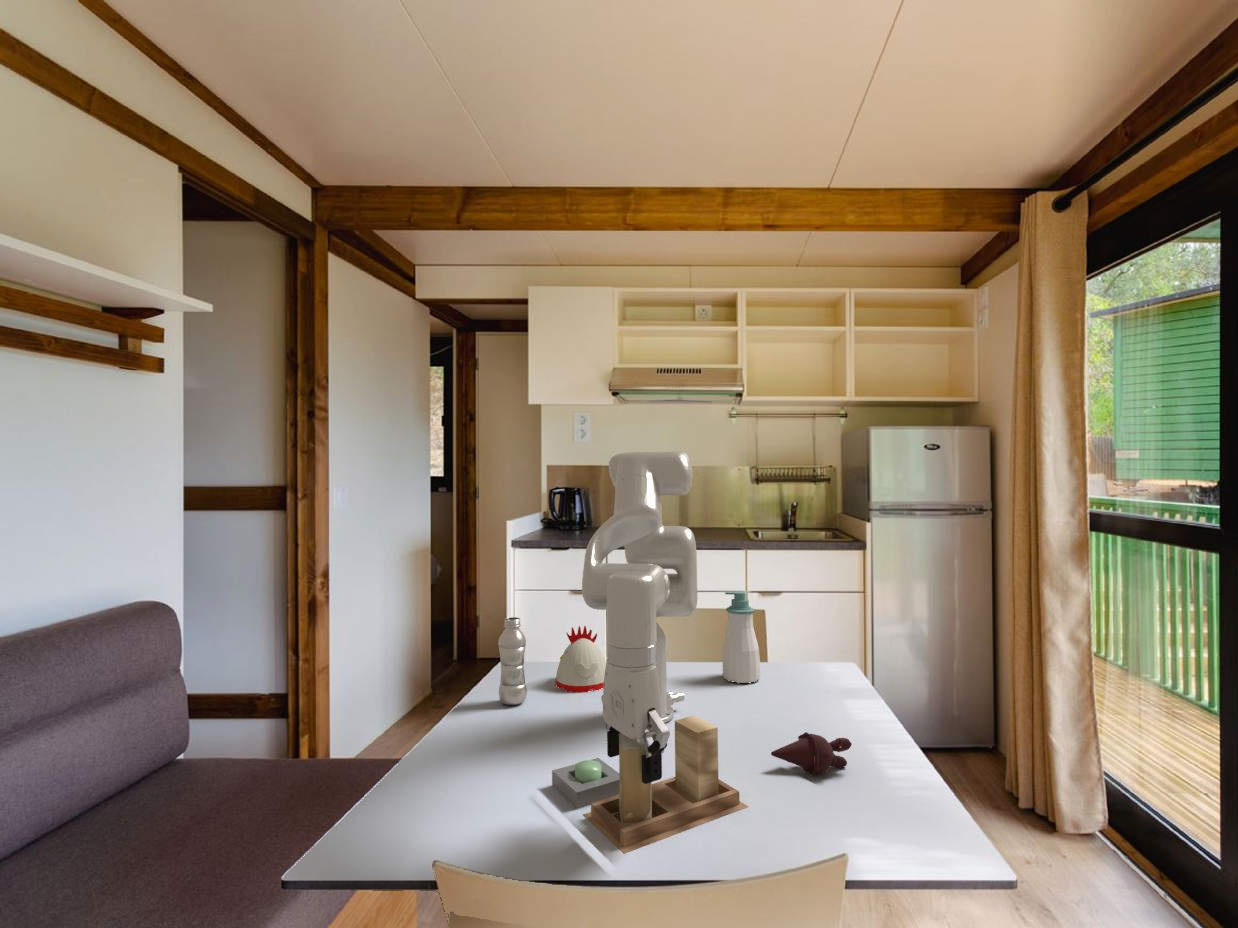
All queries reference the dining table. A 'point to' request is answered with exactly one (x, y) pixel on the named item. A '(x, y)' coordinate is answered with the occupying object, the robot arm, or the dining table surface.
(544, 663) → the dining table surface
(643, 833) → the open wooden box
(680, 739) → the block
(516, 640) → the plastic bottle
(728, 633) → the soap bottle
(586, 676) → the cream and red dome
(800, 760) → the icecream
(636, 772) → the skincare box
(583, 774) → the button
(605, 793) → the grey square holder
